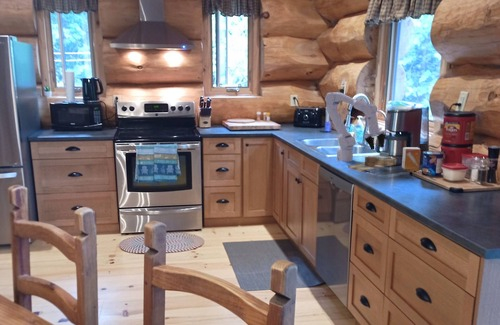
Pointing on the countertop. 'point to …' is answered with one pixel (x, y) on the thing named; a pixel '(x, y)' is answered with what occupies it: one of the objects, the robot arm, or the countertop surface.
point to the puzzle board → (378, 164)
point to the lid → (382, 155)
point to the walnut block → (369, 161)
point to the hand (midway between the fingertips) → (377, 148)
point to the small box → (411, 159)
